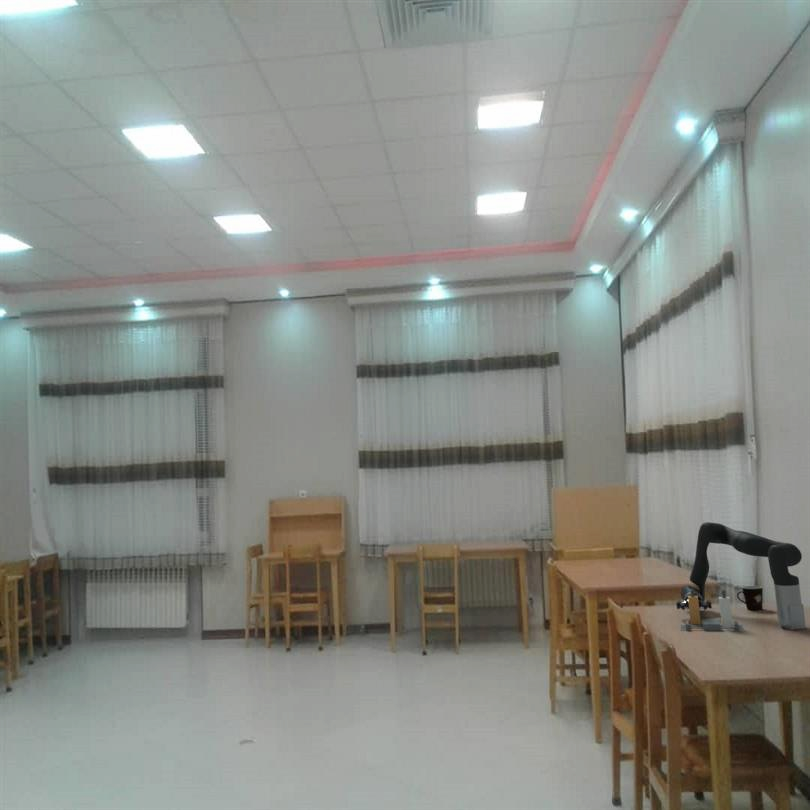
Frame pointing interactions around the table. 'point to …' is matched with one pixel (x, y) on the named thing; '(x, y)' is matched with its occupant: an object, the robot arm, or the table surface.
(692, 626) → the cable rack
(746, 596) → the coffee mug
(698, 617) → the orange plug
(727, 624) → the white bottle
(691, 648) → the table surface
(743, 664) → the table surface
